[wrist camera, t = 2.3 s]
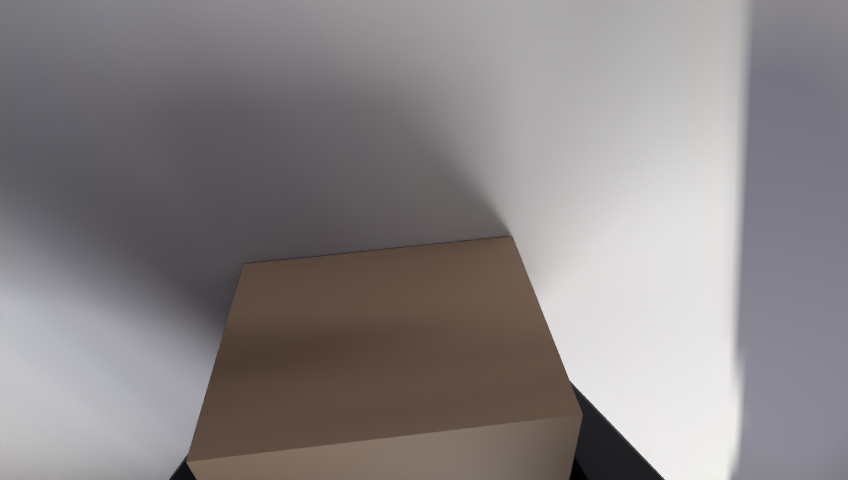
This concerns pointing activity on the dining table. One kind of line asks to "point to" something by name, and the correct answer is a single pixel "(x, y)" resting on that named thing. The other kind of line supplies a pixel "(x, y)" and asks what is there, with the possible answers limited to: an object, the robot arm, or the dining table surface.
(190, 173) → the dining table surface
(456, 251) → the block
